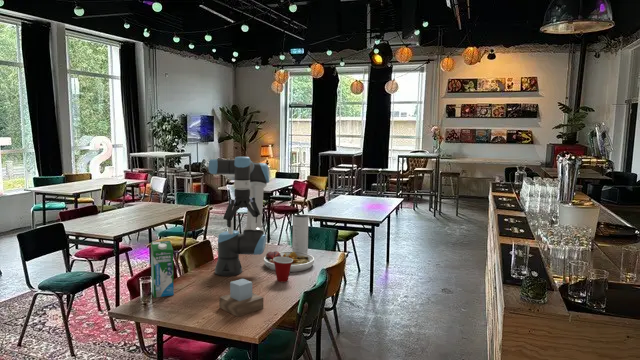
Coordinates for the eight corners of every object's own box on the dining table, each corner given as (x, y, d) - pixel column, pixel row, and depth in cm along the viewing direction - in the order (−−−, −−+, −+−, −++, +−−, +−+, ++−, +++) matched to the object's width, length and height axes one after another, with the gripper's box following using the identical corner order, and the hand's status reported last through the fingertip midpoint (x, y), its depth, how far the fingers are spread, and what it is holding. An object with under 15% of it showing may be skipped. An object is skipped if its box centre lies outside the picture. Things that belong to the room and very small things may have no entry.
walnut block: (219, 307, 200) (219, 297, 199) (244, 299, 210) (244, 289, 209) (237, 316, 190) (237, 305, 190) (263, 308, 200) (263, 297, 200)
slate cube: (230, 297, 199) (230, 282, 199) (242, 293, 204) (242, 278, 204) (239, 301, 195) (239, 285, 194) (252, 297, 200) (252, 282, 199)
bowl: (318, 261, 278) (319, 249, 277) (306, 275, 249) (307, 262, 248) (273, 257, 284) (273, 245, 284) (256, 271, 255) (256, 258, 254)
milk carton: (153, 298, 210) (153, 246, 207) (151, 291, 218) (150, 242, 215) (173, 295, 214) (173, 244, 212) (170, 289, 222) (170, 240, 220)
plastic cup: (290, 284, 233) (290, 262, 231) (270, 282, 235) (270, 260, 234) (295, 278, 243) (295, 256, 242) (276, 276, 245) (276, 255, 244)
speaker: (311, 254, 293) (311, 215, 291) (299, 257, 286) (300, 217, 283) (300, 251, 301) (300, 213, 298) (288, 253, 293) (289, 214, 291)
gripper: (224, 191, 203) (225, 236, 205) (267, 187, 221) (266, 229, 223) (215, 189, 208) (215, 234, 210) (257, 186, 226) (257, 227, 228)
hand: (242, 231), depth 217 cm, fingers open, 13 cm apart
